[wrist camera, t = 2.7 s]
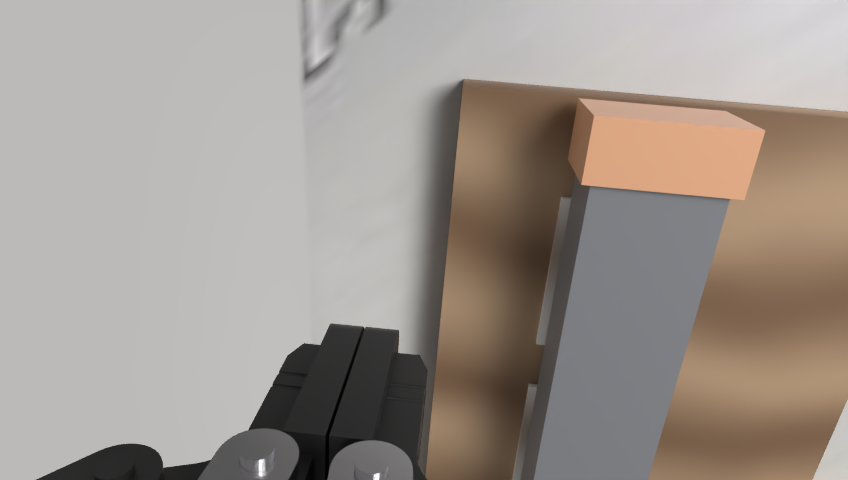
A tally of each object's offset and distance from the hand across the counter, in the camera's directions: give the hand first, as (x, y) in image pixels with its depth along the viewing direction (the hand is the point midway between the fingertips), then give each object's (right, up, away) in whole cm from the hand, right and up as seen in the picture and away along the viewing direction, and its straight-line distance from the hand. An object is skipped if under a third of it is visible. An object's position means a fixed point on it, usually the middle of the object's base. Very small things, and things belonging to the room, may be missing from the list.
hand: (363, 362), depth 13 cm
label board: (+10, -4, +12) cm, 16 cm away
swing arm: (+8, -4, +11) cm, 14 cm away
